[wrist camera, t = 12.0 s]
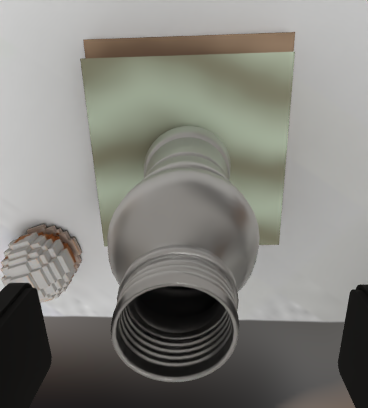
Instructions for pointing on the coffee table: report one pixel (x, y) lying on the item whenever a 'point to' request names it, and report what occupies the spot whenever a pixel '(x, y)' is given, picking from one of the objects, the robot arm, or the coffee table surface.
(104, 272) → the coffee table surface
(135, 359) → the plastic bottle
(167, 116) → the walnut stand
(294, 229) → the coffee table surface
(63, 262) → the decorative ornament
